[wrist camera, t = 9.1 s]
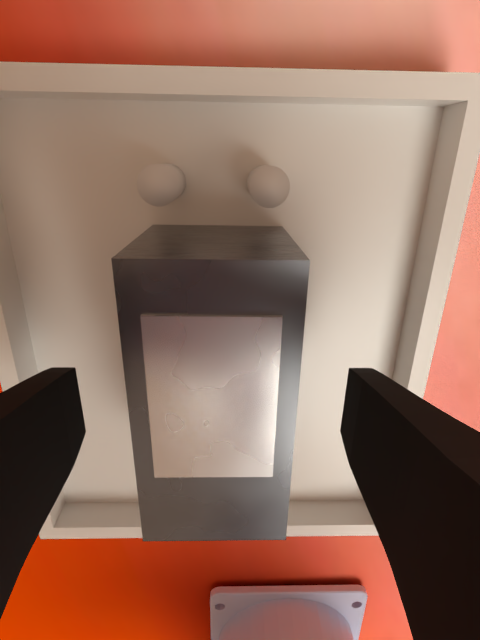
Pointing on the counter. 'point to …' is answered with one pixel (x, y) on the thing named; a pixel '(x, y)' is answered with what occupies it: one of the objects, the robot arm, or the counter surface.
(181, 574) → the counter surface
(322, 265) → the tray
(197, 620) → the counter surface
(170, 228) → the block
